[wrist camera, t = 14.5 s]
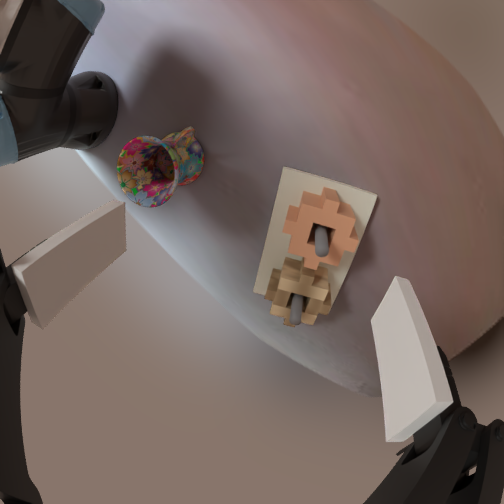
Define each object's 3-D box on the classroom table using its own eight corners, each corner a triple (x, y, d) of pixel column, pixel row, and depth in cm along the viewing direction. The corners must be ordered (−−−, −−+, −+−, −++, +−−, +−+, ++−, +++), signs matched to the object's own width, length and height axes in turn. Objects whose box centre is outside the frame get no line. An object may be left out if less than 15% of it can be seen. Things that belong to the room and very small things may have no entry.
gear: (265, 295, 47) (258, 317, 42) (278, 246, 42) (273, 266, 37) (318, 309, 46) (318, 333, 41) (338, 263, 41) (341, 284, 36)
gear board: (254, 288, 48) (238, 331, 39) (284, 166, 37) (274, 184, 28) (328, 308, 47) (329, 354, 37) (375, 193, 36) (396, 221, 27)
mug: (182, 197, 43) (148, 221, 34) (146, 157, 41) (106, 172, 32) (233, 147, 38) (208, 158, 28) (193, 104, 35) (156, 103, 26)
